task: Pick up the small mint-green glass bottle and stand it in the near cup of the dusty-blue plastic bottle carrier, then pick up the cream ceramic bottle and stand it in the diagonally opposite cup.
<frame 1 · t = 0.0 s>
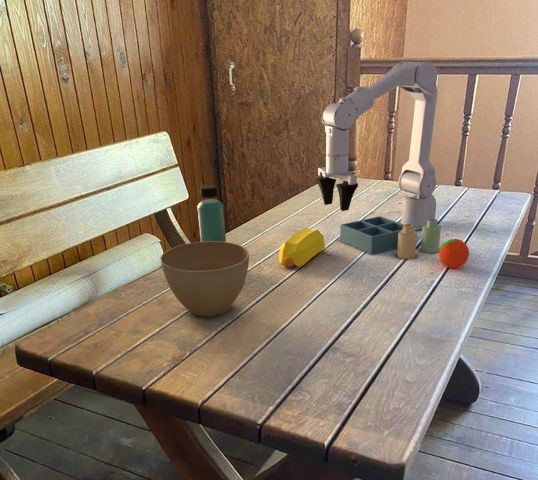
hand: (336, 207, 155), 10 cm above the table, tool pointing down, fingers open, 7 cm apart
yellow faceted toy car: (302, 259, 150), on the table
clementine: (450, 268, 141), on the table
carrier: (375, 242, 159), on the table
cream bottle: (406, 255, 149), on the table
mint bottle: (429, 249, 152), on the table
brown bowl: (209, 309, 125), on the table
beverage bottle: (215, 267, 147), on the table
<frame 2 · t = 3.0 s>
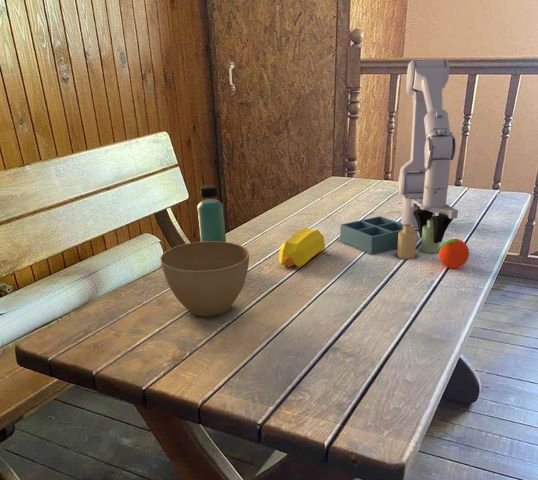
hand: (430, 239, 151), 3 cm above the table, tool pointing down, fingers closed on mint bottle, 4 cm apart
mint bottle: (429, 249, 152), on the table, touching gripper
everything else where it was.
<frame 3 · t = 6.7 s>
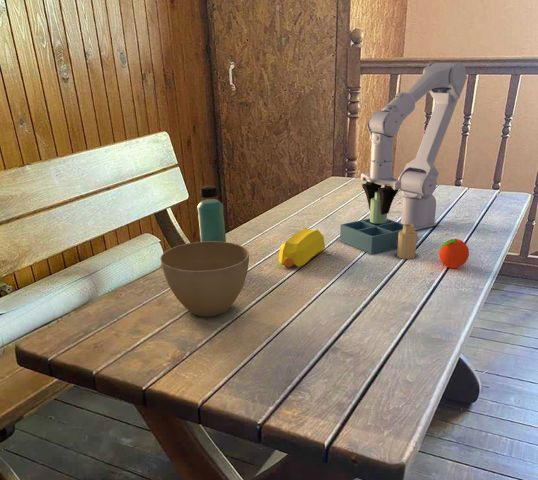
hand: (378, 211, 160), 7 cm above the table, tool pointing down, fingers closed on mint bottle, 4 cm apart
mint bottle: (378, 221, 161), point 5 cm above the table, touching gripper
everything else where it was.
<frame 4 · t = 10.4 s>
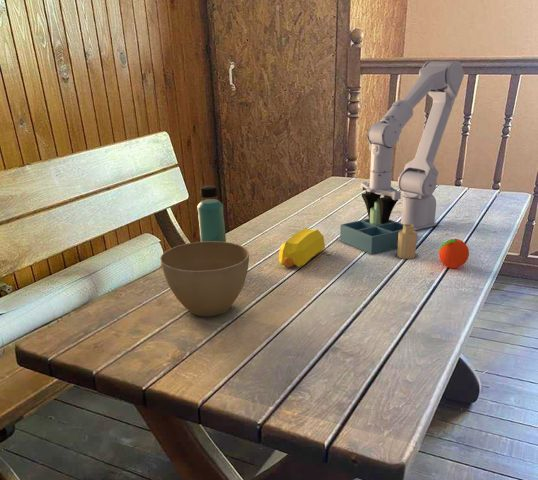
hand: (378, 220, 161), 5 cm above the table, tool pointing down, fingers closed on mint bottle, 5 cm apart
mint bottle: (377, 230, 162), point 2 cm above the table, touching gripper
everything else where it was.
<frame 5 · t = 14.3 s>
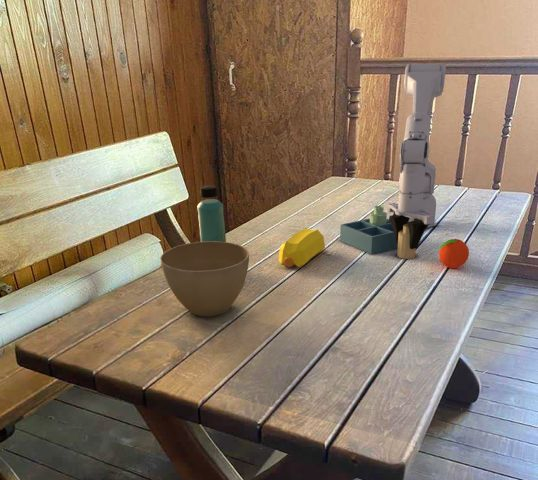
hand: (406, 245, 148), 3 cm above the table, tool pointing down, fingers closed on cream bottle, 4 cm apart
cream bottle: (406, 255, 149), on the table, touching gripper
mint bottle: (377, 235, 163), point 1 cm above the table, touching carrier
everything else where it was.
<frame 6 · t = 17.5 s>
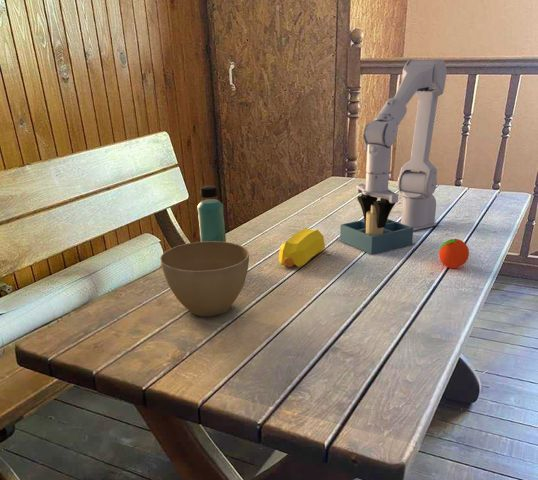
hand: (374, 225, 152), 6 cm above the table, tool pointing down, fingers closed on cream bottle, 4 cm apart
cream bottle: (374, 235, 154), point 3 cm above the table, touching gripper
everything else where it was.
when the fingers open (5 cm above the table, at t = 21.0 s): cream bottle drops 2 cm, resting on carrier.
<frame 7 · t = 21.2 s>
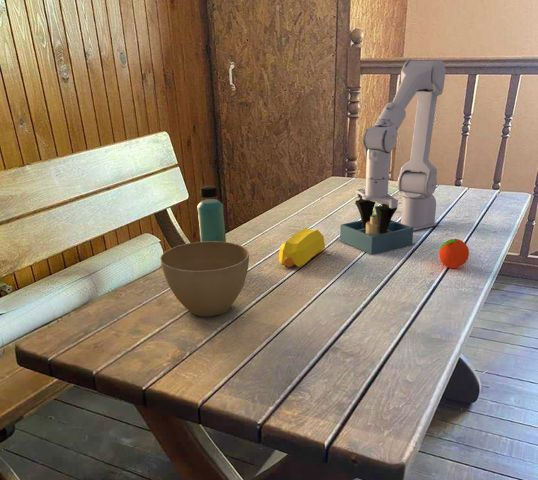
hand: (374, 229, 153), 5 cm above the table, tool pointing down, fingers open, 6 cm apart
cream bottle: (373, 245, 155), point 1 cm above the table, touching carrier
everything else where it was.
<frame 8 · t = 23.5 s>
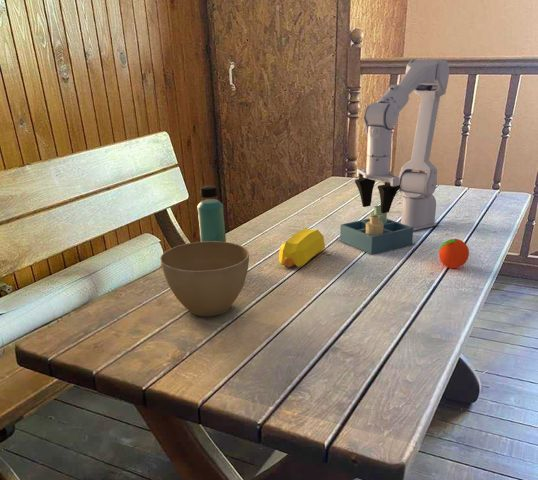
hand: (375, 209, 150), 10 cm above the table, tool pointing down, fingers open, 7 cm apart
nothing on the table moved.
at the end: mint bottle 0.1 cm from the target spot in the carrier, point 0.6 cm above the carrier's base; cream bottle 0.0 cm from the target spot in the carrier, point 0.6 cm above the carrier's base; cream bottle tilted 0° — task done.
